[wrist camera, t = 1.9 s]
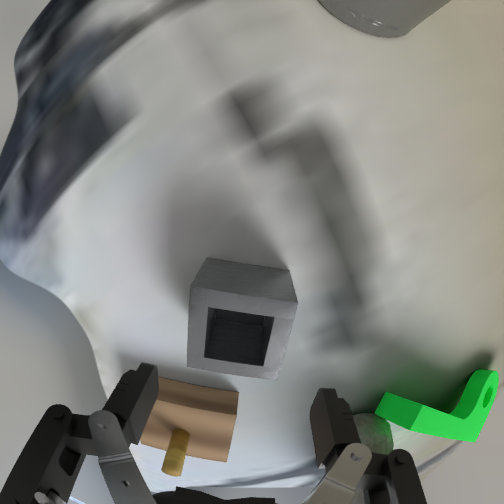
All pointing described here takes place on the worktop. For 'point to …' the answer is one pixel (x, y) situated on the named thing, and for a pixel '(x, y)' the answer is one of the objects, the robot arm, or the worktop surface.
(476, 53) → the worktop surface
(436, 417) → the bracket
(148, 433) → the keeper
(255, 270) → the link
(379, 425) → the stone
